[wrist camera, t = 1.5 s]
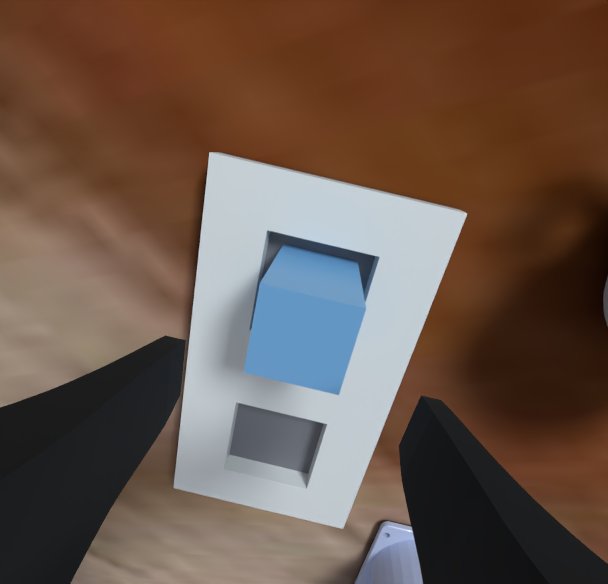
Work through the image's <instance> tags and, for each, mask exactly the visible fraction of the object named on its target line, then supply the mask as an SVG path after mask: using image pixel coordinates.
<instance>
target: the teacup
mask: <svg viewBox="0 0 608 584" xmlns="http://www.w3.org/2000/svg"><path fill="white" fill-rule="evenodd" d="M603 306H604V316H605V319H606V323H607V327H608V276H607V280H606V284H605V289H604V296H603Z"/></svg>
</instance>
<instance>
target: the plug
mask: <svg viewBox="0 0 608 584" xmlns="http://www.w3.org/2000/svg"><path fill="white" fill-rule="evenodd" d="M365 311H366V304H365V299H364V293H363V288H362V282H361V277H360V272H359V266H358V262H356V261H352V260H348V259H344V258H339V257H335V256H331V255H327V254H323V253H318V252H314V251H310V250H306V249H302V248H297V247H293V246H289V245H285V244H283V246H282V247H281V249H280V251H279V252H278V254H277V256H276V257H275V259H274V261H273V262H272V264H271V266H270V267H269V269H268V271H267V272H266V274H265V276H264V277H263V279H262V280H261V282H260V285H259V290H258V296H257V301H256V307H255V312H254V318H253V323H252V329H251V334H250V340H249V345H248V351H247V356H246V362H245V367H244V373H248V374H252V375H256V376H260V377H265V378H269V379H273V380H277V381H281V382H286V383H290V384H294V385H298V386H302V387H306V388H311V389H315V390H319V391H323V392H327V393H331V394H336V395H339V393H340V390H341V387H342V384H343V380H344V377H345V374H346V371H347V368H348V365H349V361H350V358H351V355H352V352H353V349H354V346H355V343H356V339H357V336H358V333H359V330H360V327H361V324H362V321H363V317H364V314H365Z"/></svg>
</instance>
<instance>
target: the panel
mask: <svg viewBox="0 0 608 584" xmlns="http://www.w3.org/2000/svg"><path fill="white" fill-rule="evenodd" d="M466 216H467V213H465V212H463V211H461V210H459V209H457V208H452V207H448V206H444V205H440V204H436V203H431V202H427V201H423V200H419V199H415V198H410V197H406V196H402V195H398V194H394V193H389V192H385V191H381V190H377V189H372V188H368V187H364V186H360V185H356V184H351V183H347V182H343V181H339V180H335V179H330V178H326V177H322V176H318V175H314V174H309V173H305V172H301V171H297V170H293V169H288V168H284V167H280V166H276V165H271V164H267V163H263V162H259V161H255V160H250V159H246V158H242V157H238V156H234V155H229V154H225V153H221V152H209V162H208V171H207V180H206V190H205V199H204V208H203V218H202V227H201V236H200V246H199V255H198V264H197V274H196V283H195V292H194V302H193V311H192V320H191V330H190V339H189V348H188V357H187V367H186V376H185V385H184V395H183V404H182V413H181V423H180V432H179V441H178V451H177V460H176V469H175V479H174V488H176V489H180V490H184V491H188V492H192V493H196V494H200V495H205V496H209V497H213V498H217V499H221V500H225V501H230V502H234V503H238V504H242V505H246V506H250V507H254V508H259V509H263V510H267V511H271V512H275V513H279V514H284V515H288V516H292V517H296V518H300V519H304V520H308V521H313V522H317V523H321V524H325V525H329V526H333V527H338V528H342V529H343V527H344V525H345V522H346V520H347V517H348V515H349V512H350V510H351V507H352V505H353V502H354V500H355V497H356V495H357V492H358V489H359V487H360V484H361V482H362V479H363V477H364V474H365V472H366V469H367V467H368V464H369V462H370V459H371V457H372V454H373V451H374V449H375V446H376V444H377V441H378V439H379V436H380V434H381V431H382V429H383V426H384V424H385V421H386V418H387V416H388V413H389V411H390V408H391V406H392V403H393V401H394V398H395V396H396V393H397V391H398V388H399V386H400V383H401V380H402V378H403V375H404V373H405V370H406V368H407V365H408V363H409V360H410V358H411V355H412V353H413V350H414V348H415V345H416V342H417V340H418V337H419V335H420V332H421V330H422V327H423V325H424V322H425V320H426V317H427V315H428V312H429V310H430V307H431V304H432V302H433V299H434V297H435V294H436V292H437V289H438V287H439V284H440V282H441V279H442V277H443V274H444V271H445V269H446V266H447V264H448V261H449V259H450V256H451V254H452V251H453V249H454V246H455V244H456V241H457V239H458V236H459V233H460V231H461V228H462V226H463V223H464V221H465V218H466ZM283 244H285V245H289V246H293V247H297V248H302V249H306V250H310V251H314V252H318V253H323V254H327V255H331V256H335V257H339V258H344V259H348V260H352V261H356V262H358V266H359V272H360V277H361V282H362V288H363V293H364V299H365V304H366V311H365V314H364V317H363V321H362V324H361V327H360V330H359V333H358V336H357V339H356V343H355V346H354V349H353V352H352V355H351V358H350V361H349V365H348V368H347V371H346V374H345V377H344V380H343V384H342V387H341V390H340V393H339V395H336V394H331V393H327V392H323V391H319V390H315V389H311V388H306V387H302V386H298V385H294V384H290V383H286V382H281V381H277V380H273V379H269V378H265V377H260V376H256V375H252V374H248V373H244V367H245V362H246V356H247V351H248V345H249V340H250V334H251V329H252V323H253V318H254V312H255V307H256V301H257V296H258V290H259V285H260V282H261V280H262V279H263V277H264V276H265V274H266V272H267V271H268V269H269V267H270V266H271V264H272V262H273V261H274V259H275V257H276V256H277V254H278V252H279V251H280V249H281V247H282V246H283Z"/></svg>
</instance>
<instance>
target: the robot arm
mask: <svg viewBox="0 0 608 584" xmlns="http://www.w3.org/2000/svg"><path fill="white" fill-rule="evenodd" d="M185 341H186V340H182V339H178V338H173V337H169V336H164V337H162V338H160V339H158V340H156V341H154V342H152V343H150V344H148V345H146V346H144V347H142V348H140V349H138V350H136V351H134V352H132V353H130V354H128V355H126V356H124V357H122V358H120V359H118V360H116V361H114V362H112V363H110V364H108V365H106V366H104V367H102V368H100V369H98V370H95V371H93V372H91V373H89V374H86V375H84V376H82V377H80V378H77V379H75V380H73V381H71V382H69V383H66V384H64V385H61V386H59V387H57V388H54V389H51V390H49V391H46V392H44V393H41V394H38V395H36V396H33V397H30V398H27V399H24V400H22V401H19V402H16V403H13V404H10V405H7V406H4V407H1V408H0V584H70V583H71V581H72V579H73V577H74V575H75V573H76V571H77V569H78V568H79V566H80V564H81V562H82V560H83V558H84V556H85V554H86V552H87V550H88V549H89V547H90V545H91V543H92V541H93V539H94V538H95V536H96V534H97V532H98V530H99V528H100V527H101V525H102V523H103V521H104V519H105V517H106V515H107V514H108V512H109V510H110V509H111V507H112V505H113V504H114V502H115V500H116V499H117V497H118V496H119V494H120V492H121V491H122V489H123V488H124V486H125V485H126V483H127V482H128V480H129V479H130V477H131V476H132V474H133V473H134V471H135V470H136V468H137V467H138V465H139V464H140V462H141V461H142V459H143V458H144V456H145V455H146V453H147V452H148V450H149V449H150V447H151V446H152V444H153V443H154V441H155V440H156V438H157V437H158V435H159V434H160V432H161V430H162V429H163V427H164V426H165V424H166V422H167V420H168V418H169V416H170V414H171V412H172V410H173V408H174V406H175V404H176V402H177V400H178V398H179V396H180V392H181V382H182V371H183V361H184V351H185ZM399 452H400V466H401V476H402V483H403V488H404V493H405V498H406V503H407V508H408V512H409V517H410V522H411V526H412V527H411V526H406V525H402V524H398V523H394V522H390V521H385V522H383V523H382V524H381V526H380V528H379V530H378V532H377V535H376V537H375V539H374V541H373V543H372V546H371V548H370V550H369V552H368V554H367V557H366V559H365V561H364V563H363V565H362V568H361V570H360V572H359V574H358V576H357V579H356V581H355V583H354V584H608V564H607V563H606V562H605V561H603V560H602V559H601V558H600V557H598V556H597V555H596V554H595V553H593V552H592V551H591V550H590V549H589V548H588V547H586V546H585V545H584V544H583V543H582V542H581V541H579V540H578V539H577V538H576V537H575V536H574V535H572V534H571V533H570V532H569V531H568V530H567V529H566V528H565V527H564V526H562V525H561V524H560V523H559V522H558V521H557V520H556V519H555V518H554V517H553V516H551V515H550V514H549V513H548V512H547V511H546V510H545V509H544V508H543V507H542V506H541V505H540V504H538V503H537V502H536V501H535V500H534V499H533V498H532V497H531V496H530V495H529V494H528V493H527V492H526V491H525V490H524V489H523V488H522V487H521V486H520V485H519V484H518V483H517V482H516V481H515V480H514V479H513V478H512V477H511V476H510V475H509V474H508V473H507V472H506V470H505V469H504V468H503V467H502V466H501V465H500V464H499V463H498V462H497V461H496V460H495V459H494V458H493V457H492V456H491V454H490V453H489V452H488V451H487V450H486V449H485V448H484V447H483V446H482V444H481V443H480V442H479V441H478V440H477V439H476V438H475V437H474V436H473V434H472V433H471V432H470V431H469V430H468V429H467V428H466V427H465V425H464V424H463V423H462V422H461V421H460V420H459V419H458V418H457V416H456V415H455V414H454V413H453V412H452V411H451V410H450V409H449V408H448V407H447V406H446V405H445V404H444V403H443V402H442V401H441V400H438V399H433V398H429V397H425V396H421V397H420V399H419V402H418V404H417V406H416V408H415V411H414V413H413V415H412V417H411V420H410V422H409V424H408V427H407V429H406V431H405V433H404V436H403V438H402V440H401V442H400V445H399Z"/></svg>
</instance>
